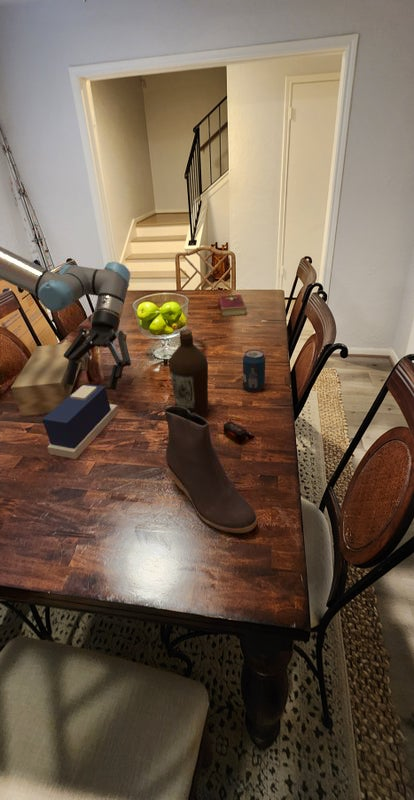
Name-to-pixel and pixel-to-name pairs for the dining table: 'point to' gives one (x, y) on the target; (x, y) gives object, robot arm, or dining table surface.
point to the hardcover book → (232, 305)
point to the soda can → (253, 370)
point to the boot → (204, 473)
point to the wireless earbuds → (236, 432)
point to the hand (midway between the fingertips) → (90, 386)
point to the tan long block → (43, 380)
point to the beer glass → (93, 366)
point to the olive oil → (189, 376)
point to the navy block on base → (78, 420)
